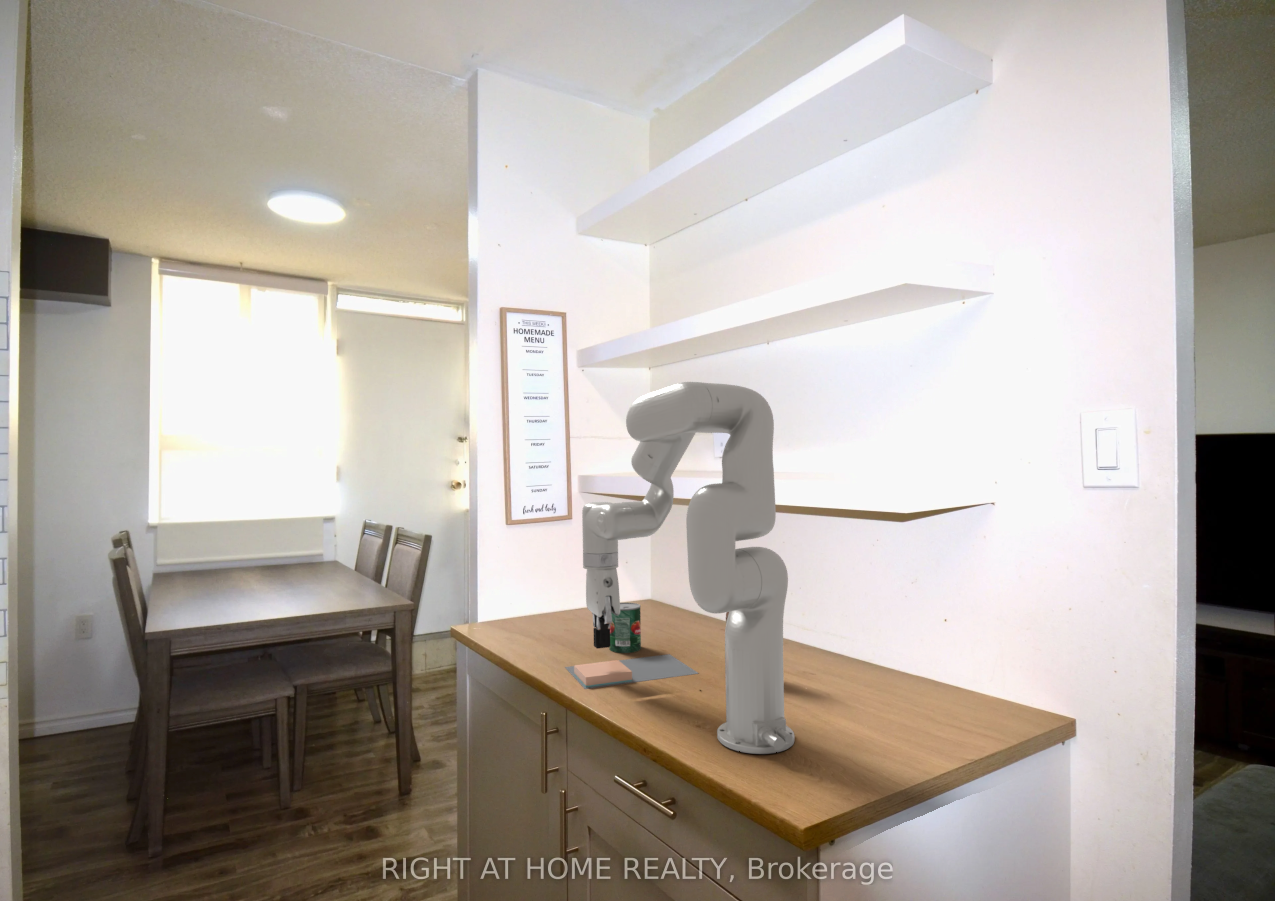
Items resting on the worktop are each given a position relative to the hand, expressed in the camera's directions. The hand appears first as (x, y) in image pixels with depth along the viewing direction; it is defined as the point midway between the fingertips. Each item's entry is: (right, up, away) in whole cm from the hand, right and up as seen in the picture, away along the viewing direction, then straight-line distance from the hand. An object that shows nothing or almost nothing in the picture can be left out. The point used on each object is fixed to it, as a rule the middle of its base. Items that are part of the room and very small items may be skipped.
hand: (602, 646), depth 146 cm
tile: (-1, -6, +4) cm, 7 cm away
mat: (+6, -7, +5) cm, 10 cm away
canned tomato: (+5, -8, +22) cm, 24 cm away
